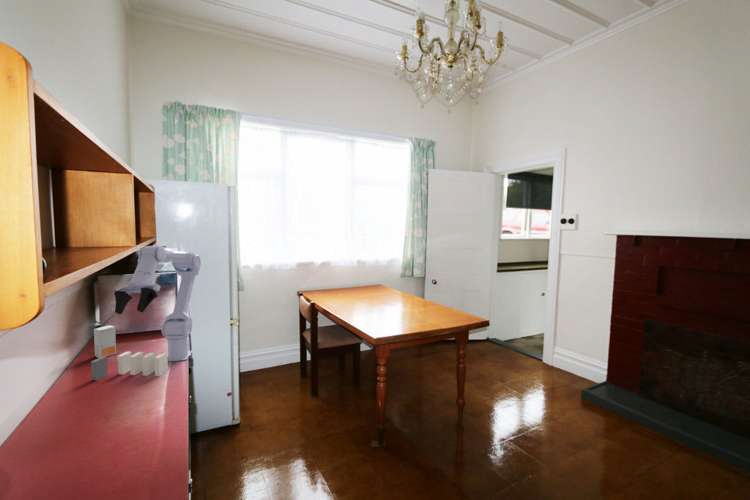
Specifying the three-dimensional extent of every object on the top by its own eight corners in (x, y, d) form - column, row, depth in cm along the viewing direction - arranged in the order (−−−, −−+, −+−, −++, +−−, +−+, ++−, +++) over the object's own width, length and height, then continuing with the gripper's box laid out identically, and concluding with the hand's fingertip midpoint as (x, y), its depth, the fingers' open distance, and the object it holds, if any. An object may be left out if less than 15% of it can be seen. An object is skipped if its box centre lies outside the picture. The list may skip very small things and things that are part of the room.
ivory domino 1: (118, 374, 125) (117, 356, 124) (128, 369, 129) (127, 351, 129) (123, 374, 125) (121, 356, 124) (132, 369, 129) (131, 351, 129)
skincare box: (100, 358, 138) (98, 330, 137) (94, 357, 140) (93, 329, 139) (117, 353, 144) (115, 326, 143) (111, 351, 146) (109, 324, 145)
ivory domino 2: (130, 374, 125) (129, 356, 124) (139, 369, 129) (138, 351, 128) (135, 375, 124) (134, 356, 124) (144, 369, 129) (143, 352, 128)
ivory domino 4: (155, 376, 124) (154, 357, 123) (163, 370, 128) (162, 352, 128) (159, 376, 124) (158, 357, 123) (167, 371, 128) (167, 353, 127)
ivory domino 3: (142, 375, 124) (141, 357, 124) (151, 370, 129) (150, 352, 128) (147, 375, 124) (146, 357, 123) (156, 370, 128) (155, 352, 128)
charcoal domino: (92, 380, 120) (90, 361, 119) (103, 375, 124) (101, 356, 124) (96, 380, 120) (95, 361, 119) (107, 375, 124) (106, 356, 124)
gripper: (115, 272, 114) (98, 309, 107) (155, 267, 113) (141, 305, 105) (130, 281, 120) (115, 317, 112) (168, 278, 119) (156, 314, 111)
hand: (128, 312), depth 109 cm, fingers open, 7 cm apart
